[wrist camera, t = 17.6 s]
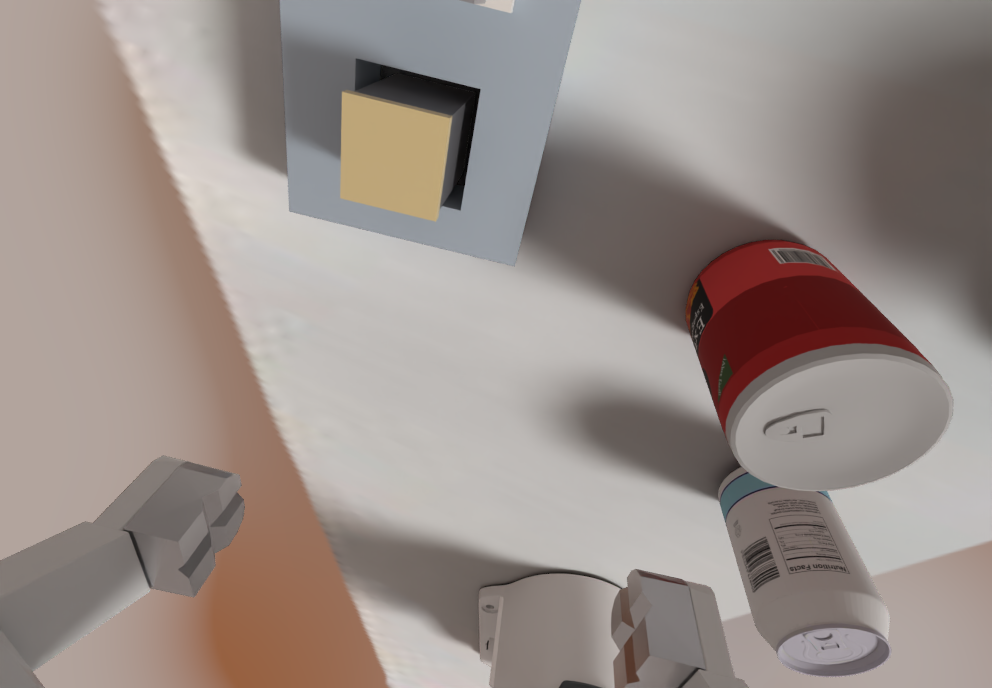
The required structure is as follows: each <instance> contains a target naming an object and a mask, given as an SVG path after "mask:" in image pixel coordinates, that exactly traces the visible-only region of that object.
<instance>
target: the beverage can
mask: <svg viewBox="0 0 992 688" xmlns="http://www.w3.org/2000/svg"><path fill="white" fill-rule="evenodd" d="M718 498H719V502H720V506H721V509H722V513H723V516H724V519H725V523H726V526H727V530H728V533H729V537H730V540H731V544H732V547H733V550H734V554H735V557H736V561H737V564H738V568H739V571H740V575H741V578H742V581H743V585H744V588H745V592H746V595H747V599H748V602H749V606H750V609H751V612H752V616H753V619H754V623H755V626H756V628H757V630H758V632H759V633H760V634H761V636H762V637H763V638H764V639H765V640H766V641H767V642H768V643H769V644H770V645H771V647H772V648H773V649H774V650H775V651H776V653H777V656H778V659H779V660H780V662H781V663H782V664H783V665H784V666H786V667H787V668H789V669H791V670H793V671H796V672H799V673H802V674H806V675H812V676H819V677H842V676H850V675H856V674H861V673H864V672H868V671H871V670H873V669H875V668H877V667H879V666H881V665H882V664H884V663H885V662H886V661H887V660H888V659H889V657H890V655H891V647H890V645H889V643H888V631H889V621H890V616H889V612H888V609H887V607H886V605H885V603H884V601H883V599H882V597H881V596H880V594H879V592H878V590H877V588H876V586H875V584H874V582H873V580H872V578H871V576H870V574H869V572H868V570H867V568H866V566H865V564H864V563H863V561H862V559H861V557H860V555H859V553H858V551H857V549H856V547H855V545H854V543H853V541H852V539H851V537H850V535H849V533H848V531H847V530H846V528H845V526H844V524H843V522H842V520H841V518H840V516H839V514H838V512H837V510H836V508H835V506H834V504H833V502H832V500H831V499H830V497H829V495H828V493H827V491H801V490H792V489H787V488H782V487H777V486H775V485H772V484H769V483H766V482H763V481H761V480H760V479H758V478H756V477H754V476H753V475H751V474H750V473H748V472H747V471H746V470H745V469H744V468H743V467H742V466H741V467H740V468H738V469H736V470H735V471H733V472H732V473H730V474H729V475H728V476H727V477H726V478H725V479H724V481H723V482H722V484H721V485H720V488H719V491H718Z"/></svg>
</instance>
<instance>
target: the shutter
mask: <svg viewBox="0 0 992 688" xmlns="http://www.w3.org/2000/svg"><path fill="white" fill-rule="evenodd" d="M460 1H464V2H468V3H472V4H476V5H480V6H484V7H488V8H492V9H496V10H500V11H504V12H508V13H513V7H514V2H515V0H460Z"/></svg>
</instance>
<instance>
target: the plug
mask: <svg viewBox="0 0 992 688" xmlns="http://www.w3.org/2000/svg"><path fill="white" fill-rule="evenodd" d="M475 98H476V92H472V91H468V90H464V89H460V88H456V87H452V86H448V85H444V84H440V83H436V82H432V81H428V80H424V79H420V78H416V77H412V76H408V75H403V74H399V73H397V74H394V75H392V76H390V77H387V78H385V79H382V80H380V81H377V82H375V83H373V84H370V85H368V86H365V87H363V88H361V89H358V90H356V91H350V90H345V91H342V120H341V183H340V198H341V199H345V200H349V201H353V202H357V203H361V204H365V205H370V206H374V207H378V208H382V209H386V210H390V211H394V212H398V213H402V214H406V215H410V216H415V217H419V218H423V219H427V220H431V221H435V222H436V221H437V219H438V217H439V210H440V208H441V207H442V205H443V204H444V202H445V201H446V199H447V198H448V196H449V194H450V193H451V191H452V190H453V188H454V187H455V185H456V183H457V182H458V180H459V179H460V177H461V176H462V174H463V172H464V166H465V160H466V154H467V147H468V141H469V135H470V129H471V122H472V116H473V110H474V104H475Z"/></svg>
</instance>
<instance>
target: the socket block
mask: <svg viewBox="0 0 992 688" xmlns="http://www.w3.org/2000/svg"><path fill="white" fill-rule="evenodd" d="M580 2H581V0H515V2H514V7H513V13H508V12H504V11H500V10H496V9H492V8H488V7H484V6H480V5H476V4H472V3H468V2H464V1H460V0H280V22H281V43H282V64H283V86H284V107H285V129H286V150H287V172H288V193H289V212H294V213H298V214H302V215H306V216H310V217H314V218H318V219H322V220H326V221H330V222H334V223H339V224H343V225H347V226H351V227H355V228H359V229H363V230H367V231H371V232H375V233H379V234H384V235H388V236H392V237H396V238H400V239H404V240H408V241H412V242H416V243H420V244H425V245H429V246H433V247H437V248H441V249H445V250H449V251H453V252H457V253H461V254H465V255H470V256H474V257H478V258H482V259H486V260H490V261H494V262H498V263H502V264H506V265H510V266H515V263H516V259H517V255H518V251H519V247H520V243H521V239H522V235H523V231H524V227H525V223H526V219H527V215H528V211H529V207H530V203H531V199H532V195H533V191H534V187H535V183H536V179H537V175H538V171H539V167H540V163H541V159H542V155H543V151H544V147H545V143H546V139H547V135H548V131H549V127H550V123H551V119H552V115H553V111H554V107H555V103H556V99H557V95H558V91H559V87H560V83H561V79H562V75H563V71H564V67H565V63H566V59H567V55H568V51H569V47H570V43H571V39H572V35H573V31H574V27H575V23H576V18H577V14H578V10H579V6H580ZM381 65H386V66H390V67H394V68H398V69H402V70H406V71H410V72H414V73H418V74H422V75H426V76H430V77H434V78H438V79H442V80H446V81H450V82H454V83H458V84H462V85H466V86H470V87H474V88H478V89H481V90H480V96H479V103H478V109H477V115H476V121H475V127H474V133H473V139H472V145H471V151H470V157H469V163H468V169H467V175H466V181H465V187H464V186H460V185H455V187H454V188H453V190H452V191H451V193H450V194H449V196H448V198H447V199H446V201H445V202H444V204H443V205H442V207H441V208H440V210H439V217H438V219H437V221H436V222H435V221H431V220H427V219H423V218H419V217H415V216H410V215H406V214H402V213H398V212H394V211H390V210H386V209H382V208H378V207H374V206H370V205H365V204H361V203H357V202H353V201H349V200H345V199H341V198H340V183H341V120H342V91H345V90H350V91H356V90H358V89H361V88H363V87H365V86H368V85H370V84H373V83H375V82H377V81H380V70H381Z"/></svg>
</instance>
